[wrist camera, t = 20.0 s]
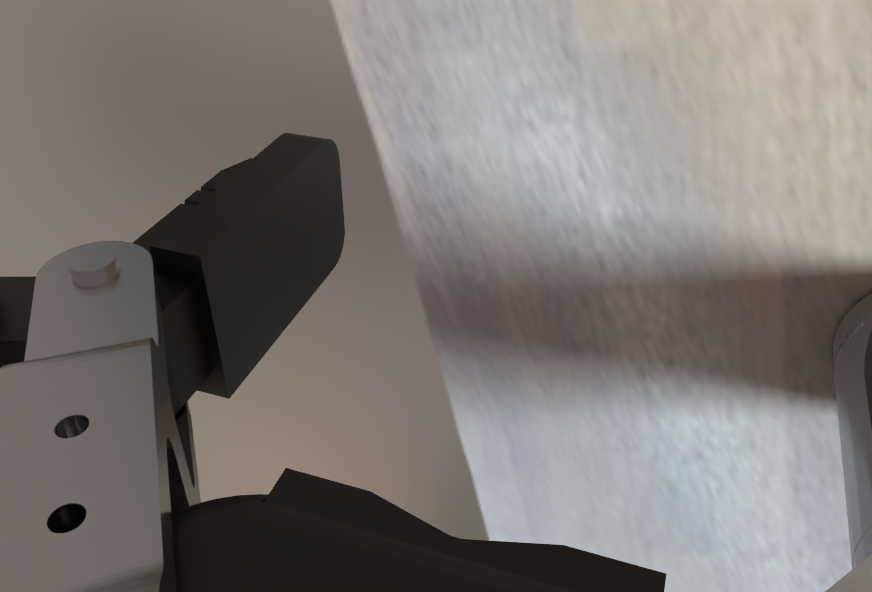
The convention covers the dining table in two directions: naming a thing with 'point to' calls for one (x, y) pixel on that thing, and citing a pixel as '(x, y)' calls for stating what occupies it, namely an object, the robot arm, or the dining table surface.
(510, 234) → the dining table surface
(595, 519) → the dining table surface
